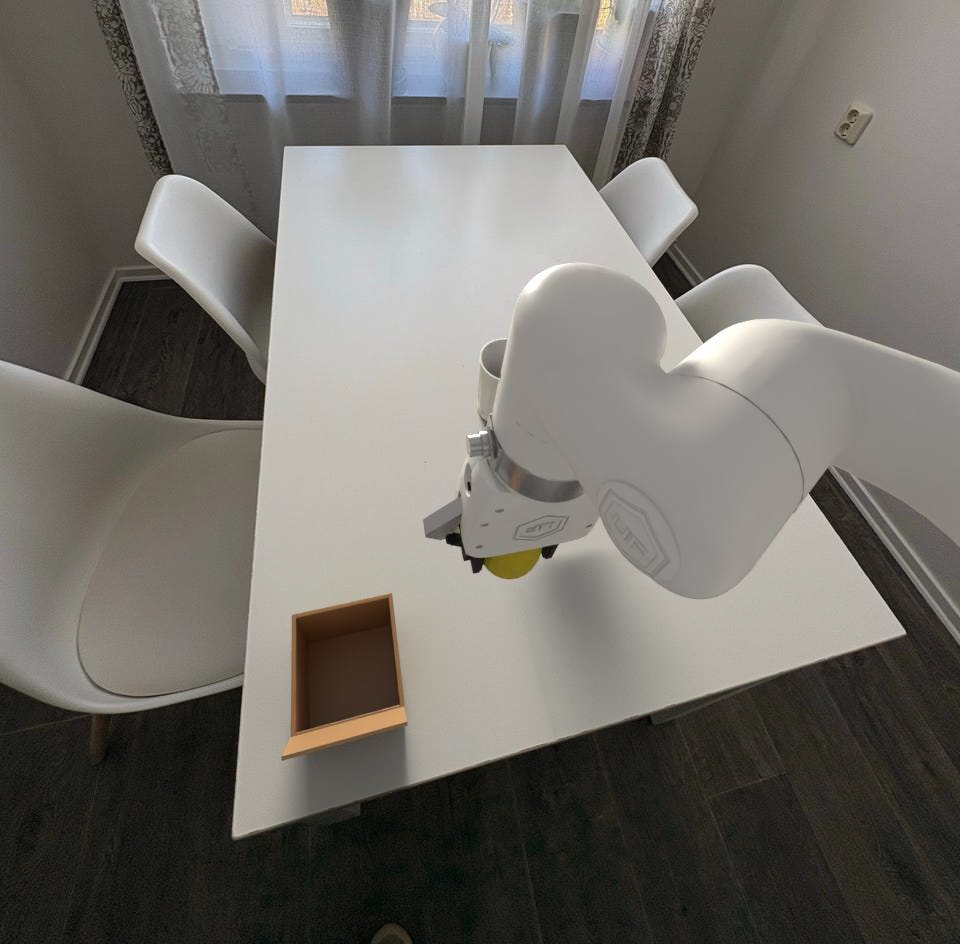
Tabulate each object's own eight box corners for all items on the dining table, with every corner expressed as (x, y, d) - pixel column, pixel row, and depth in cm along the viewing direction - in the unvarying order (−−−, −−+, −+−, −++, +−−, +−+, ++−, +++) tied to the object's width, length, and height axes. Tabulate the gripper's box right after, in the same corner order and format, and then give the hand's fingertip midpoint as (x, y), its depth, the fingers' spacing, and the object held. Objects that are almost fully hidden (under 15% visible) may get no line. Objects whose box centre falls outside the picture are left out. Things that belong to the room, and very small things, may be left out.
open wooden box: (404, 725, 55) (405, 708, 48) (306, 752, 53) (290, 740, 45) (393, 621, 62) (392, 592, 54) (305, 641, 59) (291, 614, 52)
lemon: (502, 606, 45) (516, 573, 40) (461, 553, 48) (468, 516, 42) (546, 563, 48) (565, 527, 42) (505, 516, 51) (517, 476, 45)
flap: (404, 706, 47) (404, 710, 47) (290, 737, 45) (290, 741, 45) (407, 721, 43) (407, 725, 43) (281, 756, 41) (281, 761, 41)
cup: (468, 388, 86) (475, 339, 78) (515, 384, 87) (527, 336, 79) (476, 431, 80) (484, 384, 72) (526, 426, 82) (540, 379, 74)
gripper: (420, 520, 29) (415, 616, 42) (696, 472, 33) (614, 574, 45) (404, 406, 34) (404, 522, 47) (644, 376, 38) (584, 491, 51)
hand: (508, 547), depth 46 cm, fingers closed on lemon, 5 cm apart
